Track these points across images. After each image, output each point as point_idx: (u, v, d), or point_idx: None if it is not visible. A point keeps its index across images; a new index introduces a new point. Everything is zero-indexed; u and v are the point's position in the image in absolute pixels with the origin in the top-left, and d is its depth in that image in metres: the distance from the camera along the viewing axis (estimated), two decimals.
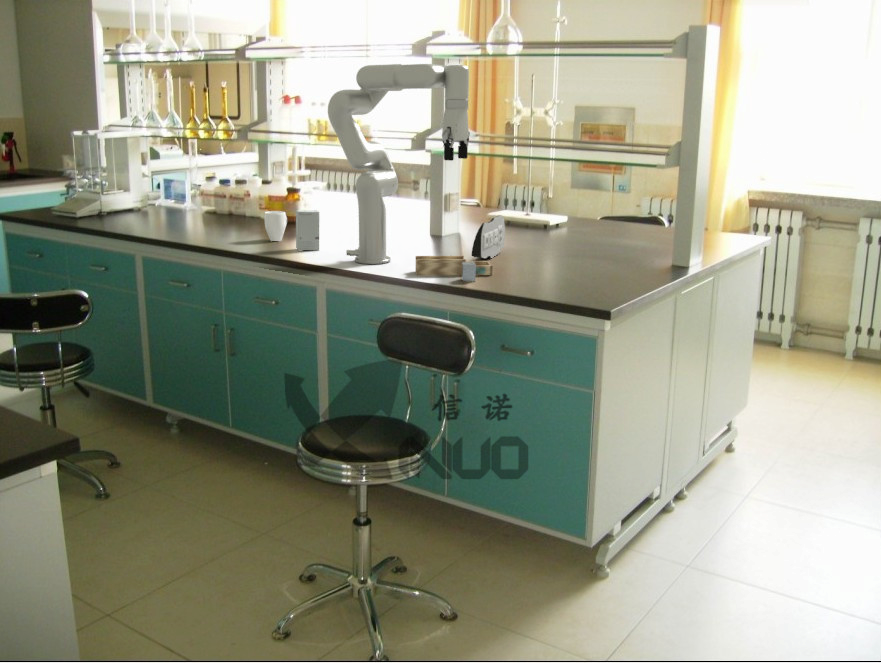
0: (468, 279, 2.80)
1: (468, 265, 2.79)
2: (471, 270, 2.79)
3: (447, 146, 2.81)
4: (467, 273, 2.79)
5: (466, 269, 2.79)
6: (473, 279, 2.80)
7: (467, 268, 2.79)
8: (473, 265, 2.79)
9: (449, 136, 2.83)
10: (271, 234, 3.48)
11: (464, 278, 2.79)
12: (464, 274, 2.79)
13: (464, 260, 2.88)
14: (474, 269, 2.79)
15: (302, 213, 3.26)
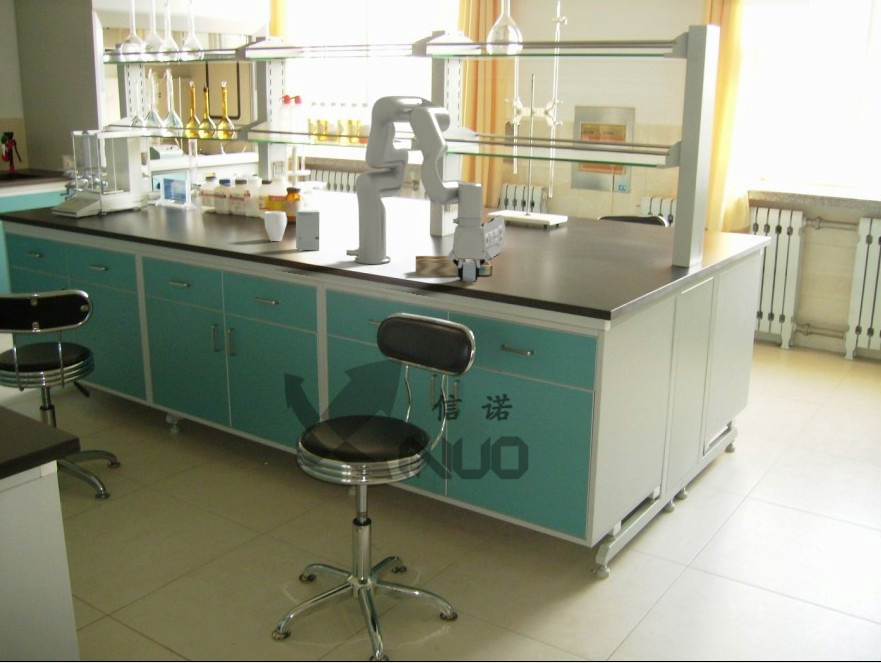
0: (468, 279, 2.80)
1: (468, 265, 2.79)
2: (471, 270, 2.79)
3: None
4: (467, 273, 2.79)
5: (466, 269, 2.79)
6: (473, 279, 2.80)
7: (467, 268, 2.79)
8: (473, 265, 2.79)
9: None
10: (271, 234, 3.48)
11: (464, 278, 2.79)
12: (464, 274, 2.79)
13: (464, 260, 2.88)
14: (474, 269, 2.79)
15: (302, 213, 3.26)
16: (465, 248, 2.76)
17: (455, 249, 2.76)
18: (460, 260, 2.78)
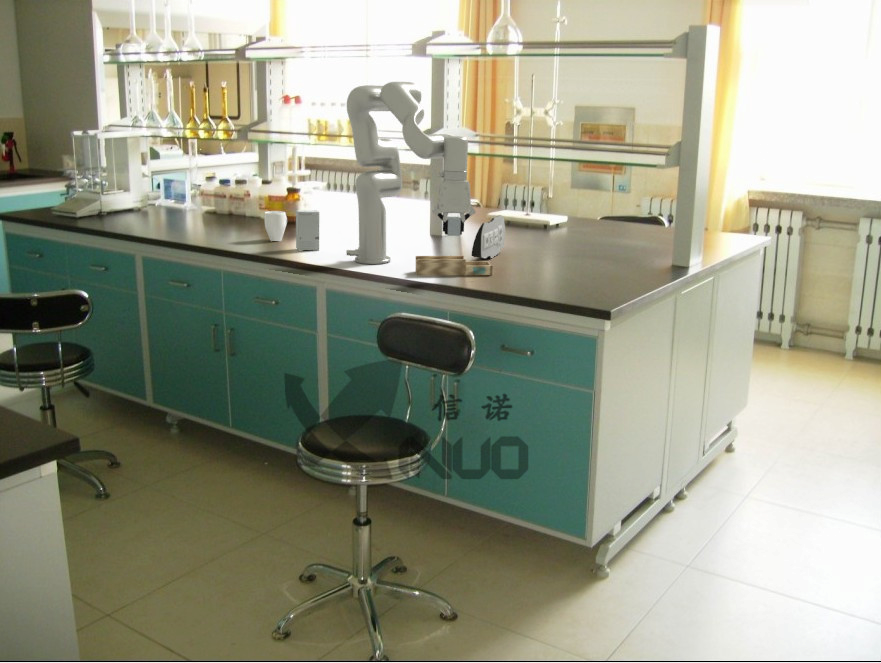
0: (453, 233, 2.81)
1: (453, 219, 2.79)
2: (456, 224, 2.80)
3: None
4: (452, 227, 2.80)
5: (451, 223, 2.80)
6: (458, 233, 2.81)
7: (452, 222, 2.80)
8: (458, 219, 2.80)
9: None
10: (271, 234, 3.48)
11: (449, 232, 2.80)
12: (449, 228, 2.80)
13: (464, 260, 2.88)
14: (459, 223, 2.80)
15: (302, 213, 3.26)
16: (450, 202, 2.77)
17: (440, 203, 2.77)
18: (445, 214, 2.79)
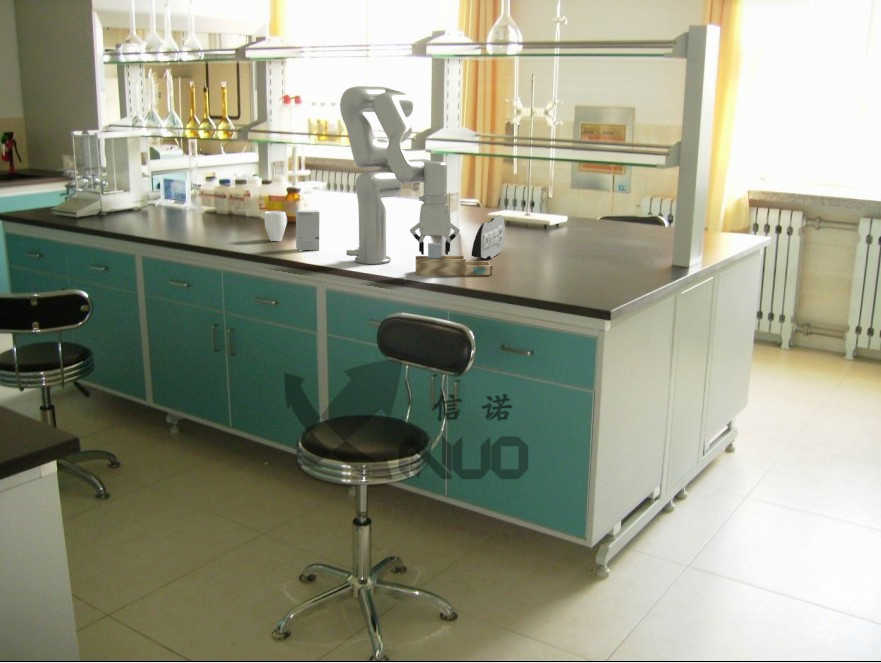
0: None
1: (433, 246, 2.88)
2: (436, 251, 2.88)
3: None
4: (433, 253, 2.88)
5: (431, 250, 2.88)
6: None
7: (432, 248, 2.88)
8: (438, 246, 2.88)
9: None
10: (271, 234, 3.48)
11: (430, 258, 2.89)
12: (430, 254, 2.88)
13: (464, 260, 2.88)
14: (439, 250, 2.88)
15: (302, 213, 3.26)
16: (430, 225, 2.85)
17: (421, 226, 2.85)
18: (423, 235, 2.87)
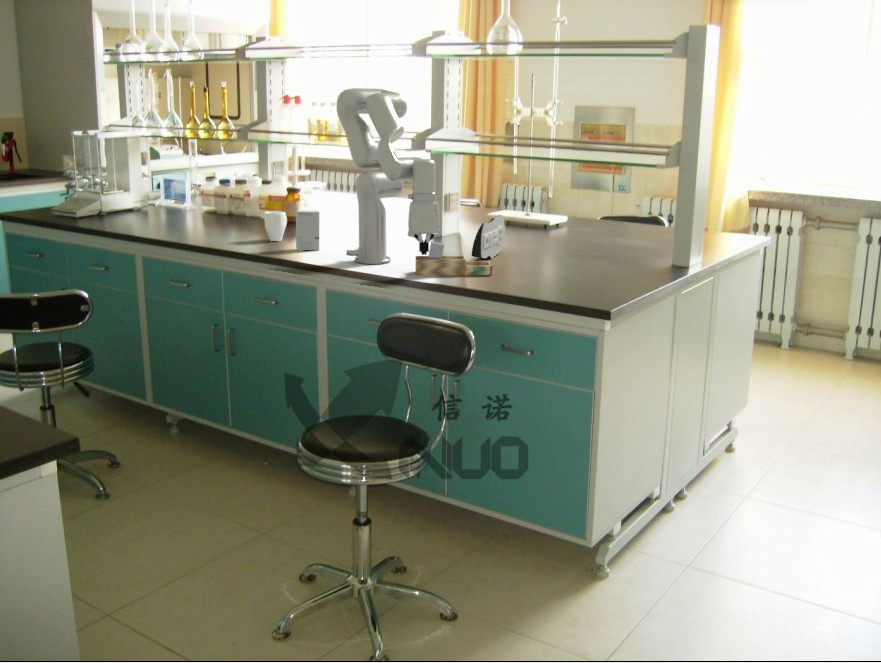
0: (434, 258, 2.89)
1: (436, 245, 2.87)
2: (438, 250, 2.88)
3: None
4: (434, 252, 2.88)
5: (434, 249, 2.88)
6: None
7: (435, 247, 2.88)
8: (441, 246, 2.88)
9: None
10: (271, 234, 3.48)
11: (430, 257, 2.88)
12: (431, 253, 2.88)
13: (464, 260, 2.88)
14: (441, 250, 2.88)
15: (302, 213, 3.26)
16: (419, 223, 2.84)
17: (410, 224, 2.84)
18: (419, 235, 2.86)
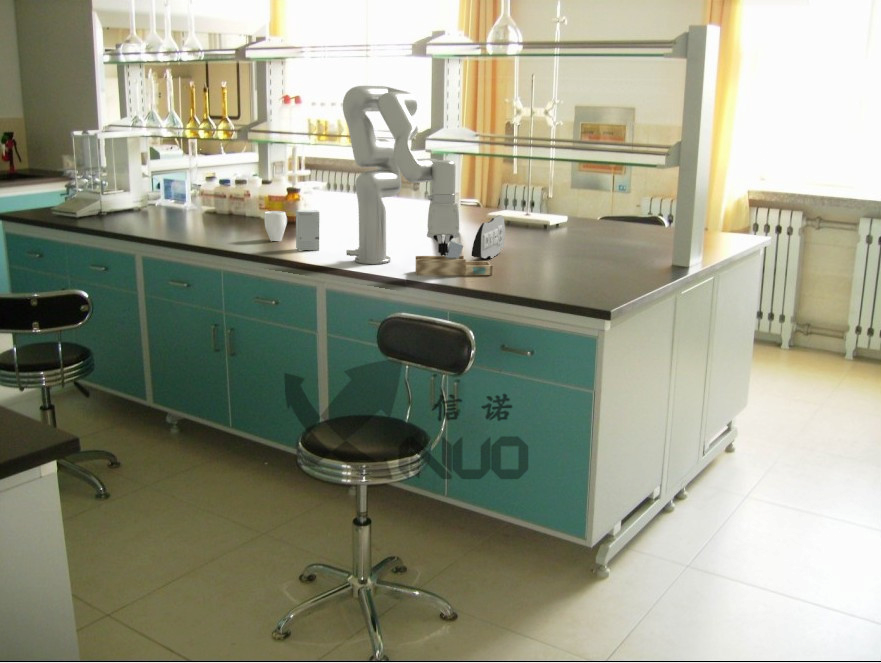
0: (452, 257, 2.89)
1: (456, 244, 2.88)
2: (457, 250, 2.89)
3: (447, 243, 2.90)
4: (453, 251, 2.89)
5: (453, 247, 2.89)
6: None
7: (454, 246, 2.88)
8: (461, 246, 2.89)
9: None
10: (271, 234, 3.48)
11: (448, 255, 2.89)
12: (450, 251, 2.89)
13: (464, 260, 2.88)
14: (460, 250, 2.89)
15: (302, 213, 3.26)
16: (439, 224, 2.85)
17: (429, 225, 2.85)
18: (438, 236, 2.87)
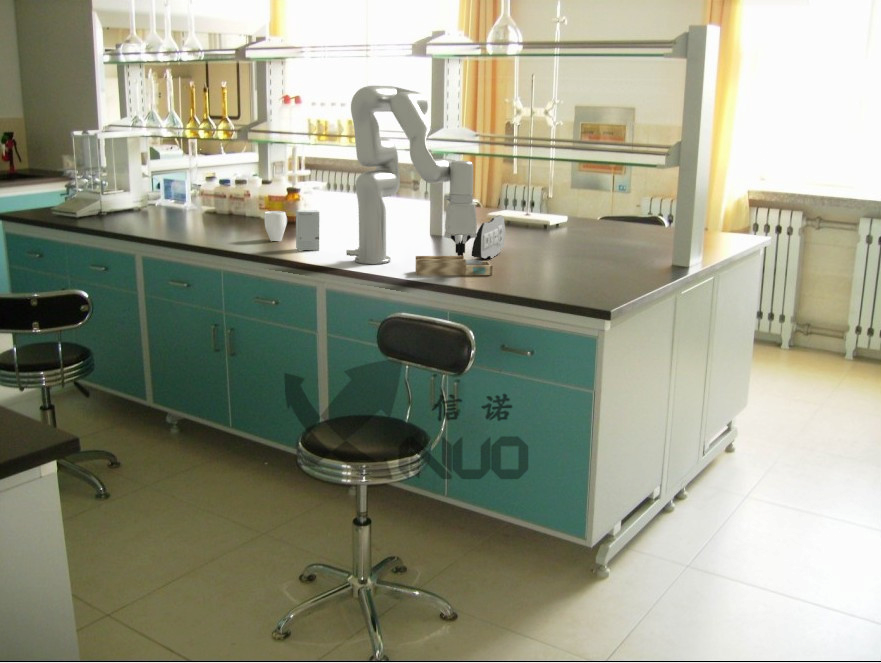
0: None
1: None
2: None
3: None
4: None
5: (477, 265, 2.91)
6: None
7: None
8: None
9: None
10: (271, 234, 3.48)
11: (468, 263, 2.90)
12: (472, 263, 2.90)
13: (464, 260, 2.88)
14: None
15: (302, 213, 3.26)
16: (457, 224, 2.85)
17: (447, 225, 2.86)
18: (456, 236, 2.88)
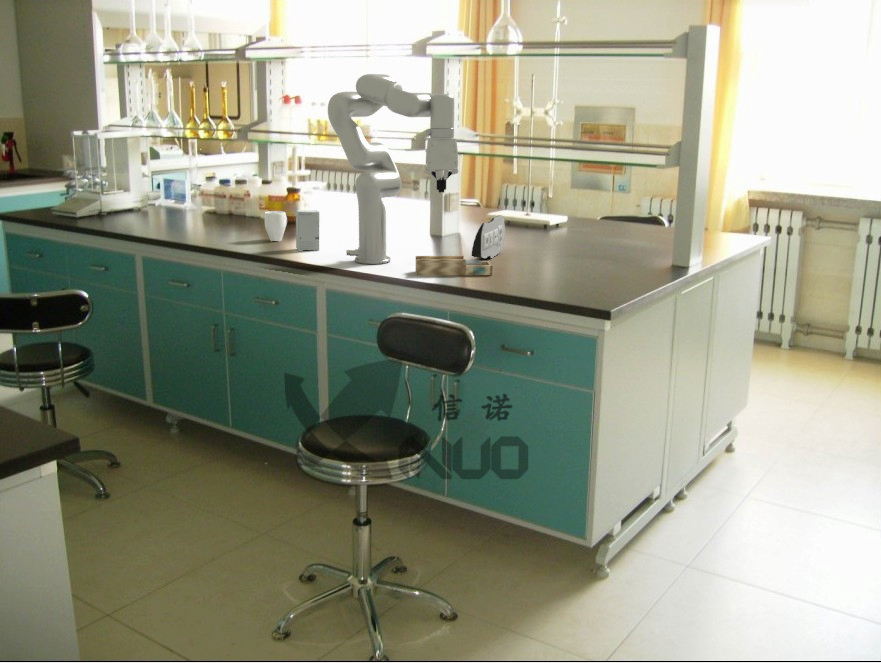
0: None
1: None
2: None
3: (446, 179, 2.84)
4: None
5: (477, 265, 2.91)
6: None
7: None
8: None
9: None
10: (271, 234, 3.48)
11: (468, 263, 2.90)
12: (472, 263, 2.90)
13: (464, 260, 2.88)
14: None
15: (302, 213, 3.26)
16: (437, 159, 2.79)
17: (428, 160, 2.79)
18: (437, 172, 2.82)
